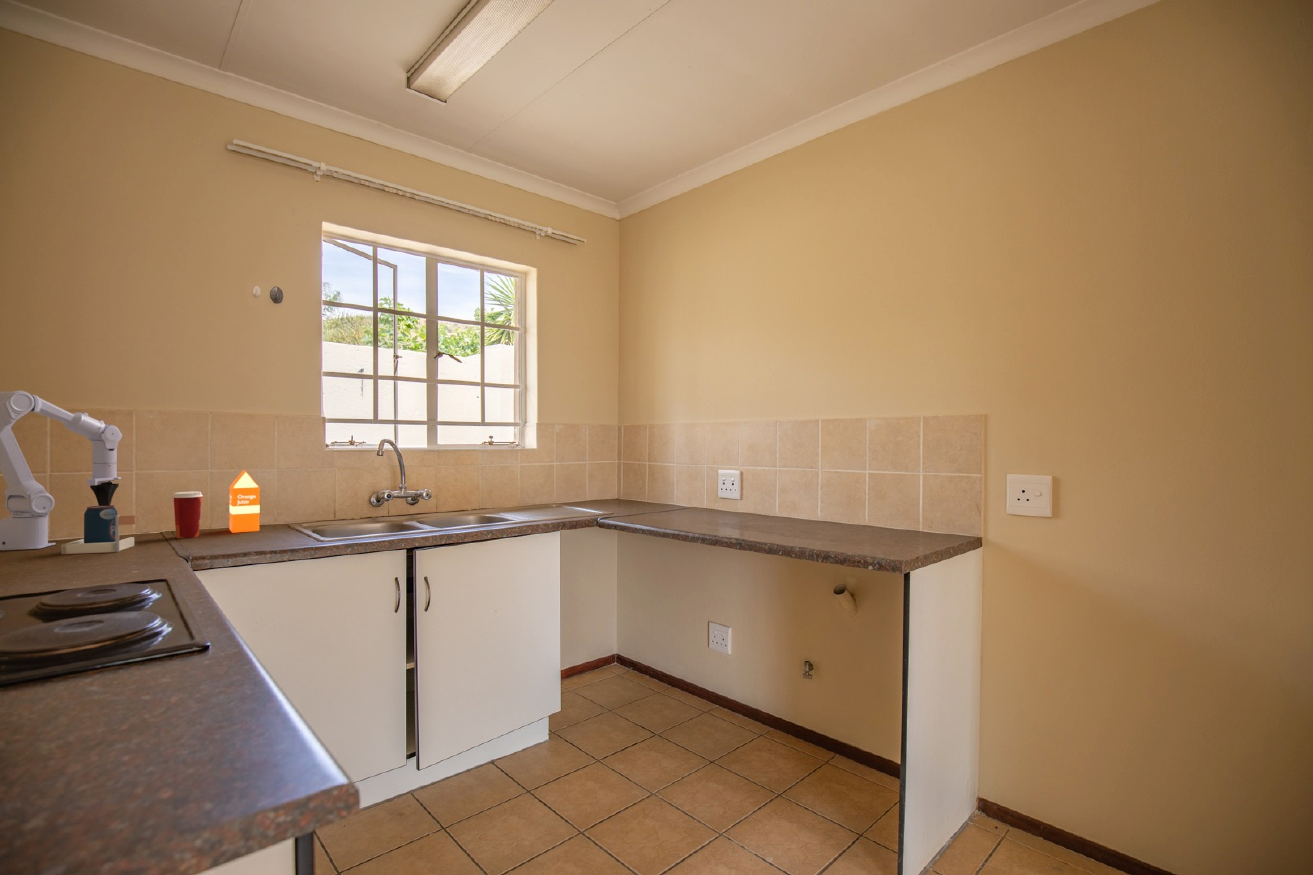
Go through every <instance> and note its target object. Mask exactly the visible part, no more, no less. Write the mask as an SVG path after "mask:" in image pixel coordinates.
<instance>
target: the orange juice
mask: <svg viewBox="0 0 1313 875" xmlns="http://www.w3.org/2000/svg"><path fill="white" fill-rule="evenodd" d="M260 491H261V490H260V486H259V485H258V484H257V483H256V482H255V481H254V479H253V478H252V477H251V476H250V475H249V473H248V472H247V471H246V470H242V471H241V472H240V473H239V474H238V476H237V477H236V478H235V479H234V480H233V482H232V483H231V484H230V485H229V531H230V532H231V533H232V534H233V533H235V534H236V533H246V532H259V531H260V514H261V513H260V510H261V509H260V508H261V507H260Z"/></svg>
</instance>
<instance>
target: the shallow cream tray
mask: <svg viewBox="0 0 1313 875" xmlns="http://www.w3.org/2000/svg"><path fill="white" fill-rule="evenodd" d="M126 525H127V526H129V525H136V515H120V514H117V515H116V531H115V542H108V543H84V538H82V539H79V540H74V541H70V542H66V543H63V544H61V547H60V548H61V550H60V552H61V553H60V554H61V555H70V554H72V555H73V554H93V553H95V554H99V553H101V554H102V553H120V551H123V550H126V549H129V548H132V547H135V537H134V536H129V537H127V538H123V539H120V526H126Z"/></svg>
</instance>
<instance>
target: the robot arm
mask: <svg viewBox="0 0 1313 875" xmlns="http://www.w3.org/2000/svg"><path fill="white" fill-rule="evenodd" d="M28 413H36V414H38V415H41V416H44V417H47V418H49V419H52V420H55V421H57V422H60V423H62V424H63V426H64V427H65V429H66V430H68V431H70V432H73V433H76V434H77V435H80V436H83V437H85V438H87V439H88V441H89V442H90V443H92V445H91V447H92V451H91V452H92V454H91V456H92V458H91V459H92V460H91V461H92V462H91V463H92V464H91V467H92V468H91V469H92V471H91V474H92V475H91V478H87V481H86V482H87V485H86V486H89V487H90V490H92V492H93V494H94V495H95V498H96V501H97V504H98V505H97V506H103V505H111V504H112V500H113V498H114V494H115V492H116V490H118V489H117V488H119V486H120V485H119V483H112V482H111V481H114V480H119V479H121V480H122V477H117V476H118V475H117V474H118V473H117V472H118V471H117V470H118V469H117V468H118V467H117V465H118V462H117V461H118V460H117V459H118V457H117V456H118V447H119V442H120V441H121V440H122V438H123V433H121V431H120V429H119V428H118V426H116V425H114V424H105V423H104V422H105V421H104V420H101V419H95V418H93V417H92V416H90V415H89V413H87V412H82V411H81V412H80V411H77V412H72V413H71V412H70V411H67V410H66V409H63V408H61V407H59V406H57V405H55V404H53V403H51V402H49V401H46V400H45V399H43V398H41V397H39V396H38V395H36V394H32V393H30V392H27V391H24V390H14V391H12V390H11V391H0V473H1V475H2V476H3V478H4V481H5V484H6V485H7V488H6V489H5V491H4V493H3V494H4V497H5V504H4V505H5V508H6V510H7V511H8V512H10V514H11V515H10V516H6V517H3V518H2V519H1V520H0V551H17V550H20V551H21V550H40V549H43V548H46V547H50V546H51V547H52V546H54V545H56V544H57V543H56V542H49V529H48V528H49V515H50V512H51V511H52V510H53V509H54V507H55V504H56V502H55V498H54V496H52V495H51V494H49V493H48V491H46V489H45V487H44V486H43V485H42V484H40V483H39V482H37V481H36V480H35V478H34V475H33V474H32V472H31V470H30V466H29V465H28V463H27V461H26V457H25V456H24V454H23V452H22V450H21V448H20V445H19V444H18V441H17V439H16V437H15V434H14V432H13V430H12V427H13V426H14V424H15V423H16V422H17V421H18V420H19V419H21V418H22V417H23V416H26V415H27V414H28Z"/></svg>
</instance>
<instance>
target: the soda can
mask: <svg viewBox="0 0 1313 875" xmlns="http://www.w3.org/2000/svg"><path fill="white" fill-rule="evenodd" d="M116 515H118V510H117V509H116V507H115V505H113V504H112V505H111V504H110V505H103V506H99V505H91V506H87V507H86V510H85V512H84V514H83V539H84V543H108V542H115V531H116Z"/></svg>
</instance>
